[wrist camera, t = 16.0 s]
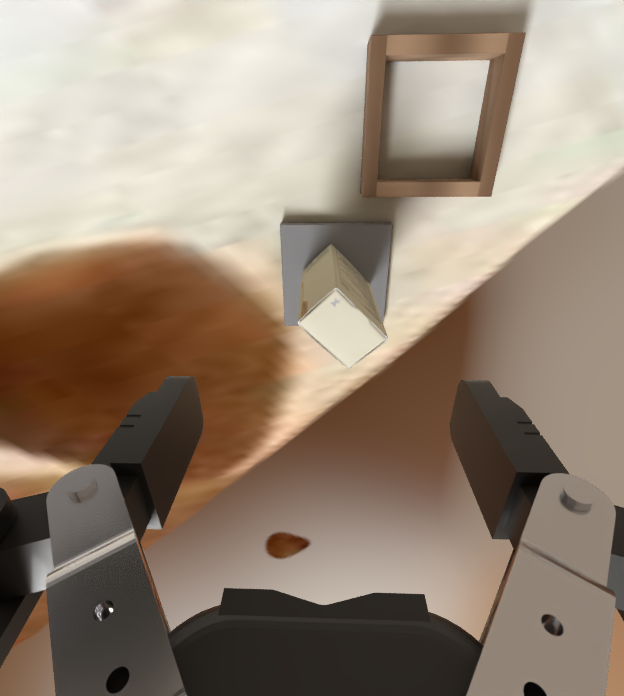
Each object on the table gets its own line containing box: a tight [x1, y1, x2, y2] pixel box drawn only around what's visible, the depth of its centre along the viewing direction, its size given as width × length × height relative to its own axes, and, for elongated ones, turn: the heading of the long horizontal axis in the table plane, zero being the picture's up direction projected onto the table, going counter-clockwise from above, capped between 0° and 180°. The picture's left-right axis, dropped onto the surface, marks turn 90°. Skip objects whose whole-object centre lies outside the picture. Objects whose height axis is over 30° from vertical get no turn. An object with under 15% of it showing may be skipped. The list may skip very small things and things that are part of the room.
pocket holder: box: [360, 33, 525, 197], centre depth 32 cm, size 11×11×3 cm
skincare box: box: [298, 244, 388, 369], centre depth 34 cm, size 6×4×12 cm
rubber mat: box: [280, 222, 392, 326], centre depth 40 cm, size 11×11×1 cm
